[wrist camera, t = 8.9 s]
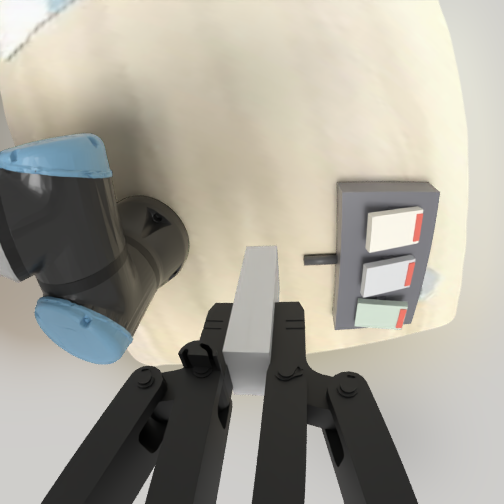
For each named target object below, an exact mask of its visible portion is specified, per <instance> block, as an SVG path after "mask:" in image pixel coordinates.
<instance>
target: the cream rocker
mask: <svg viewBox="0 0 504 504" xmlns="http://www.w3.org/2000/svg"><path fill="white" fill-rule="evenodd" d="M422 219H423V209H422V208H420V207H419V206H416V207H408V208H400V209H393V210H386V211H378V212H371V213H368V221H367V235H366V247H365V248H366V250H367V251H368V252H369V253H371V252H376V251H381V250H387V249H392V248H397V247H402V246H407V245H412V244H417V243H418V242H419V238H420V232H421V226H422Z"/></svg>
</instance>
